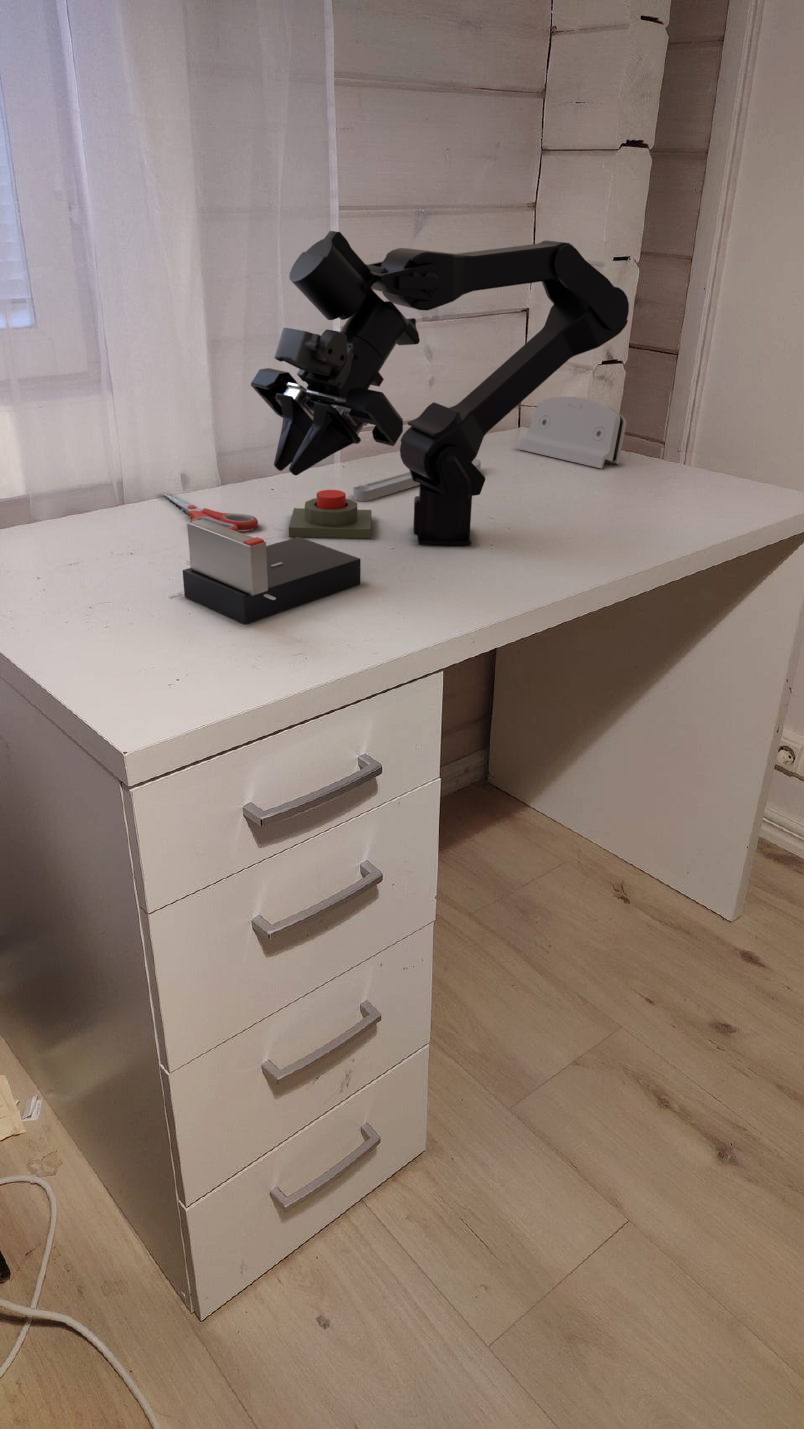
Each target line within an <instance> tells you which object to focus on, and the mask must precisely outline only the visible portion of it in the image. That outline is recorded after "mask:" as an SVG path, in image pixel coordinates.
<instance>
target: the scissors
mask: <svg viewBox="0 0 804 1429" xmlns="http://www.w3.org/2000/svg"><path fill="white" fill-rule="evenodd" d="M162 495H164V496H165V497H166V498H167V499H168V500H170V501H171V502H172V503H174V504H176V505H177V506H178V507H180V508H181V509H182V510H183V512H186V514H188V517H189V518H190V520H191V521H190V522H192V521H196V520H200V519H205V520H207V521H210V522H213V523H216V524H218V525H221V526H224V527H226V528H229V529H232V530H234V531H237V532H239V531H250V530H254V529H256V528H257V527H258V525H259V520H258V519H257V518H256V517H255V516H253V515H250V514H244V513H231V512H219V511H216V510H213V509H209V508H207V507H204V508H202V509H201V508H199V507H197V506H196V505H193V504H189V503H187V502H185V501H183V500H180V499H178V498H176V497H174V496H172V495H170V494H169V495H168V494H166V493H163V492H162Z"/></svg>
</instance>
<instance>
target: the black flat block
mask: <svg viewBox="0 0 804 1429" xmlns="http://www.w3.org/2000/svg"><path fill="white" fill-rule="evenodd" d="M266 552H267V578H268V591H265V592H262V593H259V594H256V595H253V596H252V595H250V594H248V593H245V592H243V591H240V590H238V589H236V588H233V587H231V586H229V585H226V584H224V583H222V582H219V581H217V580H215V579H212V578H210V577H208V576H205V575H203V574H200V573H198V572H196V571H193V570H191V567H189V568H185V569H182V581H183V582H182V583H183V593H182V592H179V593H175V594H172V595H169V596H168V598H169V599H171V600H172V599H176V598H178V597H181V596H184V598H185V599H188V600H191V601H192V602H195V603H197V604H199V605H201V606H204V607H206V608H208V609H210V610H213V611H215V612H217V613H219V614H221V615H223V616H225V617H228V618H230V619H232V620H235V621H237V622H239V623H241V624H243V625H248V624H251V623H254V622H256V621H260V620H262V619H265V618H268V617H270V616H274V615H277V614H279V613H283V612H285V611H288V610H291V609H294V608H298V607H300V606H303V605H307V604H309V603H313V602H314V601H317V600H320V599H324V598H326V597H329V596H332V595H335V594H338V593H340V592H343V591H346V590H349V589H352V588H355V587H358V586H361V571H362V570H361V568H362V567H361V566H362V565H361V563H362V560H361V558H359V557H357V556H354V555H351V554H348V553H345V552H343V551H340V550H337V549H335V548H331V547H328V546H326V545H323V544H321V543H317V542H315V541H312V540H309V539H307V538H305V537H292V538H290V539H285V540H282V541H279V542H275V543H273V544H269V545H266ZM184 564H186V565H189V566H190V560H186V561H184Z"/></svg>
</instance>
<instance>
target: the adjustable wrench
mask: <svg viewBox="0 0 804 1429" xmlns="http://www.w3.org/2000/svg"><path fill="white" fill-rule="evenodd" d="M481 462H482V461H481V460H480V459H479V458H477V457H476V458H475V459H474V460H473V461H472V463H473V464H474V466H475V467H476V468H477V469H478V470H479V471H480V472H481V464H482V463H481ZM417 486H420V483H418V482H414V481H413V480H412V477H411V473H410V471H408V472H404V473H400V474H397V475H393V476H390V477H386V478H382V479H379V480H374V481H371V482H367V483H364V484H360V485H357V486H354V487H353V488H352V497H353V498H352V499H353V501H357V502H368V501H372V500H375V499H379V498H381V497H386V496H388V495H392V494H396V493H398V492H402V491H405V490H408V489H411V488H414V487H417Z"/></svg>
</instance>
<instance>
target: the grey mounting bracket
mask: <svg viewBox="0 0 804 1429" xmlns="http://www.w3.org/2000/svg"><path fill="white" fill-rule="evenodd" d="M626 428H627V421H626V418H625V417H624V416H623V415H622V414H620V413H619V412H618V411H616V410H614V409H613V408H611V407H609V406H607V405H606V404H603V403H602V402H599V401H596V400H594V399H589V398H585V397H577V396H554V397H549V398H545V399H541V400H540V402H539V403H538V404H537V406H536V410H535V411H534V414H533V417H532V421H531V422H530V424H529V427H528V428H527V429H528V430H527V432H526V434H525V435H523V436H522V437H521V439H520V442H519V446H518V450H520V451H523V452H527V453H528V452H529V453H532V454H537V455H541V456H546V457H551V458H555V459H559V460H563V461H568V462H572V463H575V464H580V465H584V466H587V467H592V468H597V469H603V468H604V465H605V462H607V463H611V464H617V465H619V464H620V460H621V454H622V450H623V444H624V443H623V442H624V439H625V438H624V437H625V433H626Z"/></svg>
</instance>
